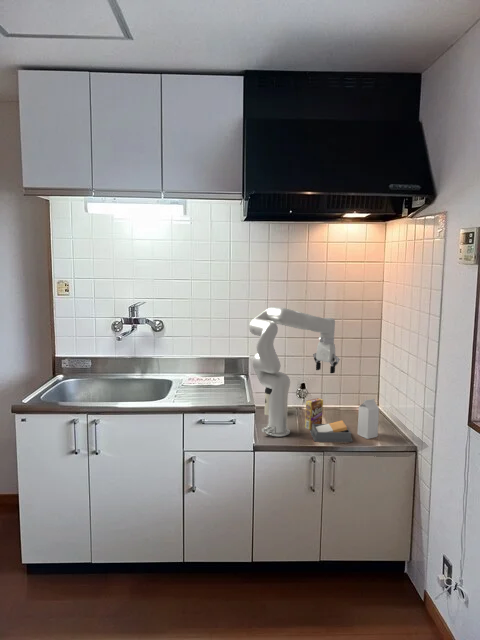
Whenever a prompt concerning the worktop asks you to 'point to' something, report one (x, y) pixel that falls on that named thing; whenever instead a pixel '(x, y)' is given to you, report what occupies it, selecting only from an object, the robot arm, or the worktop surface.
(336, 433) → the breaker housing
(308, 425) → the candy box
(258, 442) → the worktop surface
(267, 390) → the travel mug
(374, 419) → the milk carton
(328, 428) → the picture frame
